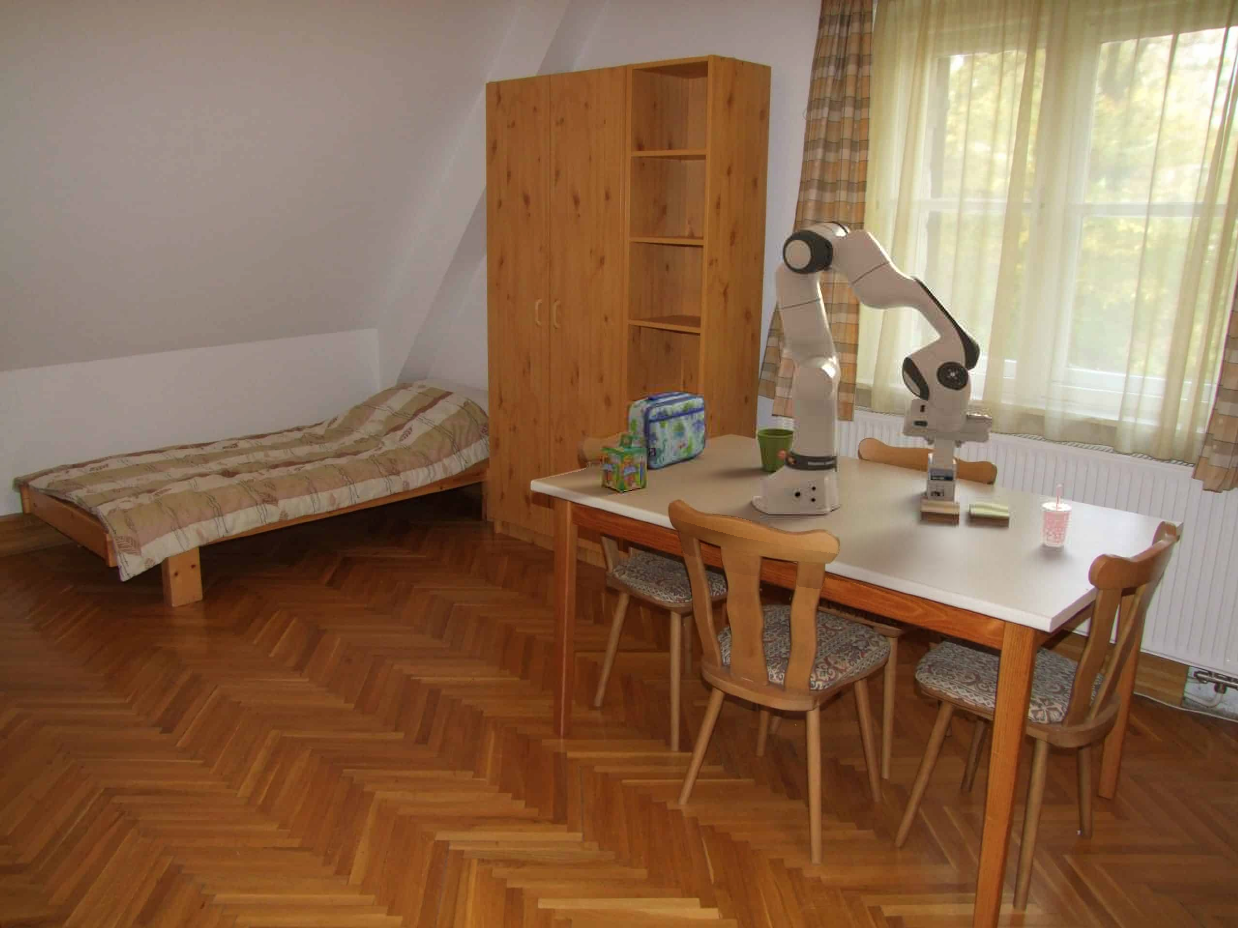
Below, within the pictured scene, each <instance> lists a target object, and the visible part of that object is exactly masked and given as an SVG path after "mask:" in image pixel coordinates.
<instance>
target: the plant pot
mask: <svg viewBox="0 0 1238 928" xmlns="http://www.w3.org/2000/svg"><path fill="white" fill-rule="evenodd" d="M755 434H756V436H757V439H758V440H757V441H758V443H759V452H760V459H761V460H760V461H761V467H762V470H764V471H767V472H776V471H777V470H779V469H780V468H781V467H783V466H784V465H785V460H783V459H782V458H780V457H779V456H780V455H779V453H781V451H785V452H786V453H789V452H791V451H792V448H793V429H788V428H776V427H775V428H774V427H772V428H771V427H770V428H761V429H758V430H756V431H755Z"/></svg>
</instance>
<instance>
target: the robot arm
mask: <svg viewBox="0 0 1238 928" xmlns="http://www.w3.org/2000/svg"><path fill="white" fill-rule="evenodd" d="M781 253H782V259H783V262H782V263H780V265H778V266H777V268H776V269H775V273H774V282H775V283H774V284H775V293H776V295H775V296H776V301H777V306H778V311H779V316H780V319H781V324H782V327H783V333H784V337H785V341H786V342H787V346H788V348H789V351H790V354H791V357H792V361H793V363H794V366H795V367H794V368H795V372H794V374H793V378H792V413H793V414H792V416H793V425H792V426H793V427H792V430H793V443H792V449H791V452H789V453H786V452H785V451H781V453H779V455H780V456H779V457H780V458H782V459H783V460H785V465H784V466H783V467H781V468H780V469H779V470H777V471H774V472H773V473H772V474H770V475H769V476H768V477H767V478H765V480H764V481H763V483H762V487H761V492H760V493H761V494H760V495H754V496H753V498H752V505H753V506H754V507H755V508H756V509H757V510H758V511H761V512H762V513H764V514H767V515H828V514H829V513H830V512H831V511H833V510H837V509H838V508H839V507H840V501H839V497H838V490H837V481H836V479H837V478H836V477H837V476H836V473H837V469H838V452H837V451H836V450H837V435H838V434H837V433H838V432H837V431H838V389H839V388H838V387H839V383H840V380H841V377H842V371H841V370H842V369H841V367H840V366H841V365H840V362H839V358H838V355H837V351H836V348H835V345H834V344H835V343H834V341H833V340H834V339H833V336H832V334H831V329H830V325H829V322H828V317H827V313H826V309H825V304H824V299H823V295H822V291H821V287H820V277H821V275H822V273H823V272H828V271H829V270H832V269H833V268H834V269H837V270H838V271H839V272H840V273H841V274H842V275H843V276H844V278H845V280H846V282H847V284H848V285H849V287H850V288H851V290H852V292H853V294H854V295H855V297H856V299H858V301H859V302H860V303H861V304H862V305H864V306H865V307H868V308H871V309H876V310H888V309H889V310H890V309H895V308H912V309H915V310H917V311H918V312H919V313H920V314H921V315H922V316H923V317H924V318H925V319H926V321H927V322H928V323H929V324H930V326H931V327H932V328H933V329H934V330H935V331H936V332H937V334H938V335H939V338H938V339H936V340H934V341H933V342H931V343H929V344H927V345H926V346H924V347H921V348H920V349H918V350H916V351H915V352H913V353H910V354H909V355H907V356H906V357H905V358H904V359H903V362H902V366H901V367H902V368H901V375H902V381H903V382H904V384H905V386H906V389H908V390H909V392H911V393H912V394H913V395H914V396H915V397H917V398H913V399H912V400H911V402H910V405H909V408H908V409H906V412H905V415H904V420H903V427H902V434H903V435H904V436H906V437H914V438H923V439H924V441H925V442H927V443H926V444H927V446H933V445H934V438H935V439H946V440H956V441H955V448H959V449H960V448H962V445H965V444H966V443H967V442H968V443H969V442H971V443H979V444H980V443H982V444H985V443H987V442H989V440H990V430H991V429H990V428H992V427H993V425H994V419H993V418H991V417H989V416H988V415H986V414H985V415H984V414H977V413H969V401H970V399H971V393H972V383H971V376H970V373H969V371H970V370H973V369H975V367H976V366H977V364H978V362H979V359H980V354H981V348H980V346H979V343H978V342H977V340H976V339H975V338H974V336H973V335H971V334H970V333H969V331H967V330H966V329H965V328H964V327H963V326H962V325H960V324H959V322H958V321H957V320H956V318H954V317H953V315H952V314H951V313H950V311H948V309H947V308H946V307H945V306H944V305H943V304H942V302H941V301H940V300H939V299H938V298H937V296H936V295H935V294H934V293H933V292H932V291H931V289H930V288H929V287H927V285H925V283H924V282H922V281H921V280H920V279H919V278H918V277H916V276H908V275H907V274H904V273H903V272H902V271H901V270H900V269H898V268H897V266H895V264H894V263H893V262H892V260H891V258H890V256H889V255H888V253H887V252H886V250H885V249H884V248H883V247H882V245H881V244H880V242H879V241H878V240H877V239H876V238H875V237H874V236H873V234H871V233H870V232H869V231H868V230H867V229H866V230H865V229H855V230H850V228H848V226H846V225H845V224H843V223H841V222H838V221H825V222H822V223H816V224H811V225H809V226H808V227H805V228H803V229H799V230H796V231H795V232H793V233H792V234H791V235H790V236H788V238H787V239H786V240H785V242H784V244H783V246H782V252H781Z"/></svg>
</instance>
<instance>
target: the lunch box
mask: <svg viewBox="0 0 1238 928" xmlns="http://www.w3.org/2000/svg"><path fill="white" fill-rule="evenodd" d="M705 406H706V405H705V399H704V397H703V396H702V395H700V394H692V393H685V392H679V391H677V392H669V393H664V394H659V395H653V396H650V395H647V397H645V398H643V399H639V400H637V401H635V402H633V404H631V406H630V409H629V412H628V435H631V436H633V440H632V443H633V444H636V445H639V446H642V447H645V448H646V449H647V467H649V468H651V469H652V470H657V469H661V468H663V467H665V466H666V467H667V466H669V465H672V464H675V463H679V462H682V461H685V460H689V459H693V458H694V457H699V456H700V455H701V454H702V453H703V452H704V449H705V446H706V440H707V439H706V437H707V430H706V407H705Z"/></svg>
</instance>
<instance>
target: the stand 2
mask: <svg viewBox="0 0 1238 928" xmlns="http://www.w3.org/2000/svg"><path fill="white" fill-rule="evenodd" d="M1009 509H1010V508H1009V504H1008V503H999V502H985V501H977V500H974V501H973V500H970V501H969V524H976V525H977V524H978V525H989V526H1001V527H1009V526H1010V511H1009Z"/></svg>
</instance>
